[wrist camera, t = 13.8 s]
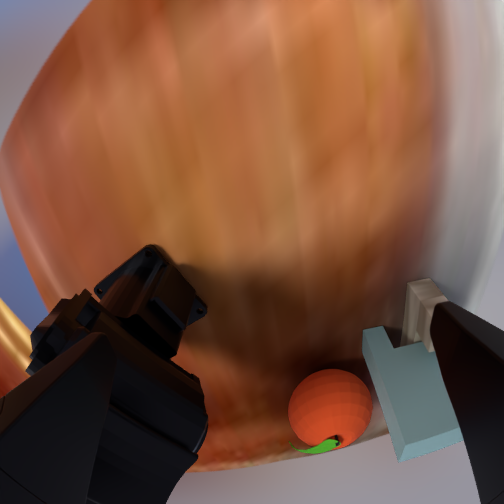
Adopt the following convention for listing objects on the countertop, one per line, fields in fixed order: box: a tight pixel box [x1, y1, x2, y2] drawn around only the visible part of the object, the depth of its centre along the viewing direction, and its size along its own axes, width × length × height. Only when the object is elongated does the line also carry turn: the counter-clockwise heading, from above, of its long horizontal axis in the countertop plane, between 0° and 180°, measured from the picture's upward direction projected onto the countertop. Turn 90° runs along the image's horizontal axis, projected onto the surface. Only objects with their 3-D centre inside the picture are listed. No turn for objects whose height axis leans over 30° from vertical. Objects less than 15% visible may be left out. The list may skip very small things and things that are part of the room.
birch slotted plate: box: [400, 278, 448, 352], centre depth 22 cm, size 2×10×5 cm, turn 10°
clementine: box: [288, 369, 373, 454], centre depth 24 cm, size 8×7×7 cm
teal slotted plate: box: [362, 326, 464, 462], centre depth 19 cm, size 8×2×11 cm, turn 100°
